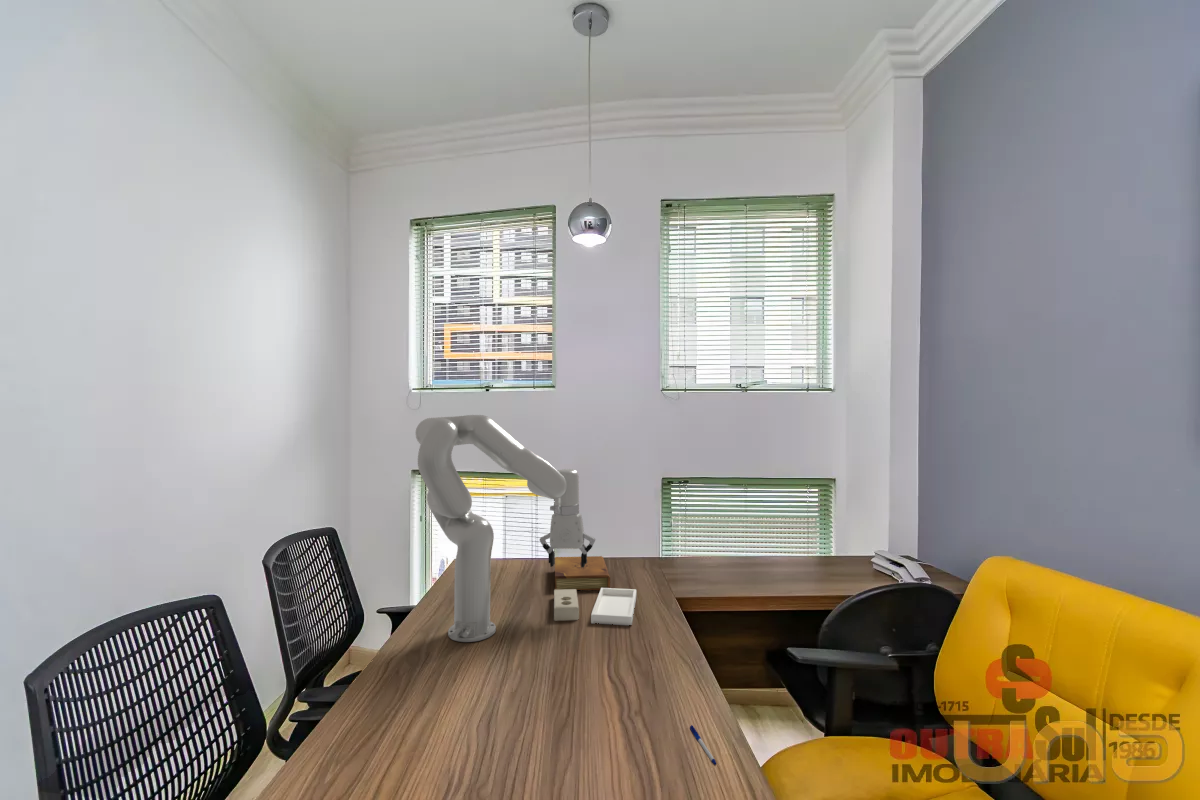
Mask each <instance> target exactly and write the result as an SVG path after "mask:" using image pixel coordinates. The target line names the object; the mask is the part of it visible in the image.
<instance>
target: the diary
mask: <svg viewBox="0 0 1200 800" xmlns="http://www.w3.org/2000/svg"><path fill="white" fill-rule="evenodd" d="M601 588H611V576H610V573H609V569H608V567H607V564H606V561H605V559H604V557H603V556H602V555H600V556H597V555H596V556H595V555H593V556H591V555H590V556H588V555H587V564H585V566H584V567H581V556H555V564H554V590H560V589H576V590H597V591H600V589H601Z"/></svg>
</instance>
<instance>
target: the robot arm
mask: <svg viewBox="0 0 1200 800" xmlns="http://www.w3.org/2000/svg"><path fill="white" fill-rule="evenodd" d="M415 438H416V440H417V442H418V444H420V445H419V448H418V454H417V468H418V471H419V472H418V473H419V474H420V477H421V479H422V480H423V482H424V484H425V486H426V488H427V489H428V490H427V494H426V501H427V506H428V507H429V510H430V511H431V513H432V515H433V517H434V519H435V520H436V522H437V523H438V525H439V526H440V528H441V530H442V531H443V533H444V535H445V536H446V537H447V539H448V540H449V541H450V542H451V543H453V544H455V545H456V546H457V552H456V556H455V561H454V606H453V607H454V609H453V611H454V613H453V614H454V617H453V618H454V619H453V624H452V625H450V627H449V628H448V630H447V636H448V637H449V639H451V640H452V641H456V642H459V643H460V642H461V643H473V642H479V641H484V640H486V639H488V638H490V637H492V636H493V635H494V634H495V633H496V629H497V627H496V624H495V622H494V621H491V567H492V566H491V564H492V563H491V561H492V551H493V546H494V540H495V539H494V529H493V527H492V525H491V523H490V522H489V521H488V520H487V519H486V518H484V517H483V516H480V515H478V514H476V513H473V512H472V509H471V508H472V504H473V500H472V495H471V493H470V491H469V489H468V488H467V486H466V485H465V482H464V481H463V480H462V478H461V476H460V474H459V472H458V471H457V468H456V467H455V465H454V464H455V463H454V462H453V458H452V452H453V449H454V446H463V445H473V446H474V447H476V448H477V449H478V450H480V451H481V452H482V453H484V455H486V456H487V457H489V458H490V459H491V460H492V461H494V462H495V464H497V465H498V466H499V467H500V468H502V469H504V470H506V471H508V472H510V473H511V474H514V475H517V476H519V477H521V478H523V479H525V480H526V482H527V484H526V485H527V488H528V490H529V491H530V493H532V494H534V495H536V496H539V497H542V498H547V499H550V500H554V504H553V505H551V506H549V510H550V511H553V514H552V515H551V519H550V520H551V521H550V530H549V533H546V534H545V535H543V536H541V537H540V538H539V541H540V544H541V545H542V548H543V549H544V550H545V551H546V553H547V554H548V564H550V565H549V566H550V568H551V567H552V568H553V567H554V566H555V557H556V556H555V551H554V549H556V550H557V549H559V550H560V549H561V550H562V549H565V550H572V549H573V550H577V549H579V550H580V551H581V555H580V557H581V567H584V566H585V564H587V556H588V552H589V551H590V550H591V549H593V546H594V544H595V542H596V540H597V539H596V538H595V537H594V536H591V535H590V534H588V533H586V532H585V531H584V530H585V529H584V521H583V517H582V513H580V499H579V498H580V496H579V495H580V492H579V490H580V489H579V488H580V486H579V483H580V481H579V478H580V477H579V472H578V470H577V469H573V468H572V469H571V468H567V469H566V468H562V469H558V470H557V469H556V468H555V467H554V466H553V465H551V464H550V463H549V462H548V461H547V460H546V459H543V458H542V457H541V456H540V455H538V454H537V453H534V452H533V451H532V450H531V449H529V448H528V447H526V446H524V445H523V444H521V442H519V441H518V440H516V439H515V438H514V437H513V436H512V435H511V434H509V432H507V431H506V430H505V429H504V428H503V427H501V426H500V424H498V423H497V422H495V420H493V419H492V418H491V417H489V416H486V415H483V414H466V415H457V416H441V417H429V418H425V419H423V420H421V421H420V422H419V423H418V425H417V427H416V428H415ZM548 539H549V544H548V543H547V541H546V540H548ZM585 540H587V541H589V543H588V544H587V545H585Z"/></svg>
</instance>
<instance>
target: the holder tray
mask: <svg viewBox="0 0 1200 800" xmlns="http://www.w3.org/2000/svg"><path fill="white" fill-rule="evenodd" d="M636 601H637V589H633V588H632V589H631V588H614V587H613V588H611V587H610V588H601V589H600V590H599V593H598V595H597V598H596V601H595V602H594V606H593V607H592V611H591V615H590V623H591V624H595V623H597V625H612V624H613V626H615V625H616V626H629V625H633V621H634V615H633V614H634V613H635V609H634V608H635V607H636ZM598 623H599V624H598Z"/></svg>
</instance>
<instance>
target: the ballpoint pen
mask: <svg viewBox="0 0 1200 800" xmlns="http://www.w3.org/2000/svg"><path fill="white" fill-rule="evenodd" d="M689 729H690V731H691V732H692V734H693V736H694V737H695V739H696V740H697V742H698V743H699V745H700V746H701V747H702V749H703V750H704V752H705V753H706V755H707V757H708V758H709V759H710V761H711V763H712V764H713V765H717V761H716V759H715V758H714V756H713V754H712V753H711V752H710V750H709V749H708V747H707V746H706V744H705V742H704V741H703V740H702V738H701V736H700V734H699V733H698V731H697V729H696V728H695V727H694V725H693V724H691V725H690V726H689Z"/></svg>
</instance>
